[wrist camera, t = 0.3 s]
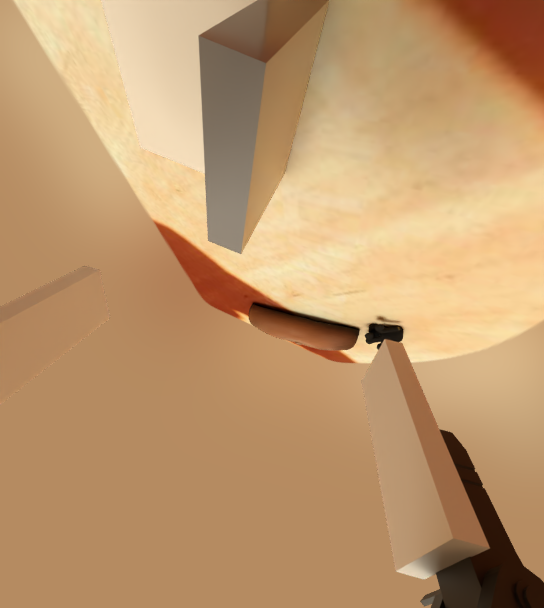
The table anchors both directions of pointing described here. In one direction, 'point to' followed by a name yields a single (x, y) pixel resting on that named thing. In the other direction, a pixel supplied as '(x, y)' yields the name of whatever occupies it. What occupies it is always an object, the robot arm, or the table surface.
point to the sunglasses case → (302, 330)
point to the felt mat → (165, 69)
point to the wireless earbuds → (383, 334)
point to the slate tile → (253, 108)
